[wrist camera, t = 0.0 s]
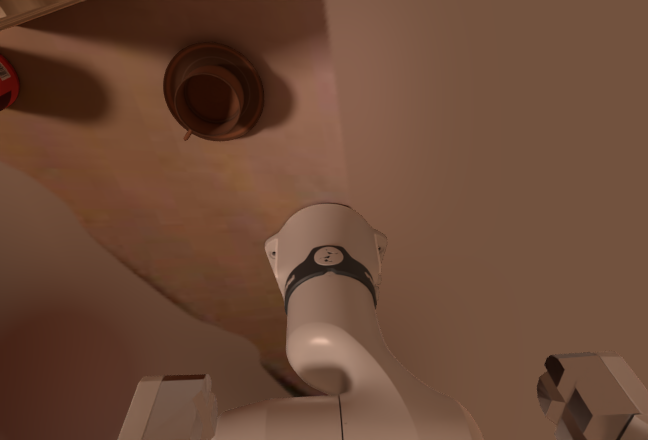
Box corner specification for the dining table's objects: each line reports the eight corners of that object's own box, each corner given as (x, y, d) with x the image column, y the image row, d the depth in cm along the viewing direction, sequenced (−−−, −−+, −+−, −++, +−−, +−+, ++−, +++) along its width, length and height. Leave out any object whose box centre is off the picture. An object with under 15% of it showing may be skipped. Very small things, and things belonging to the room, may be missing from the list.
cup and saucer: (252, 146, 59) (247, 167, 53) (161, 119, 56) (146, 138, 51) (276, 58, 53) (273, 72, 47) (175, 24, 50) (160, 34, 45)
